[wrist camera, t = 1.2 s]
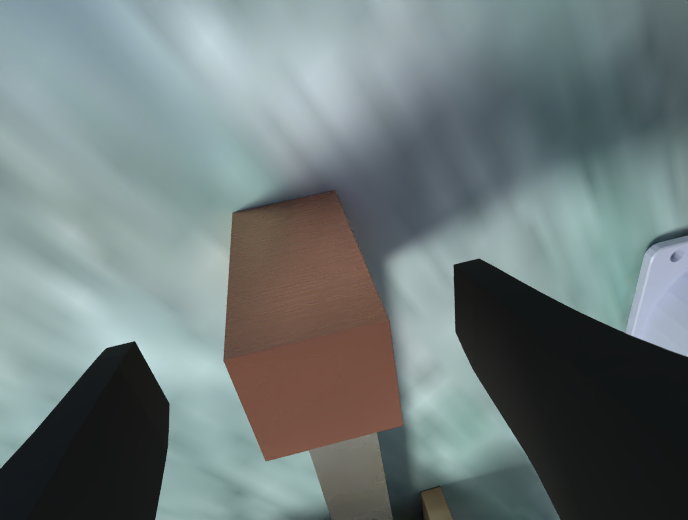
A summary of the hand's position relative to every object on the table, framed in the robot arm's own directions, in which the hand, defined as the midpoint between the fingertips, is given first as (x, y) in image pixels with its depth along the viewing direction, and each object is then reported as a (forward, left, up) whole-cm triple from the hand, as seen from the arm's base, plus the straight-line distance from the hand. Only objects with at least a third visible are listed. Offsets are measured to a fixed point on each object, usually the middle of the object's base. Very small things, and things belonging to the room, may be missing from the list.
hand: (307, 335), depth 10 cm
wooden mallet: (0, +7, -4) cm, 8 cm away
